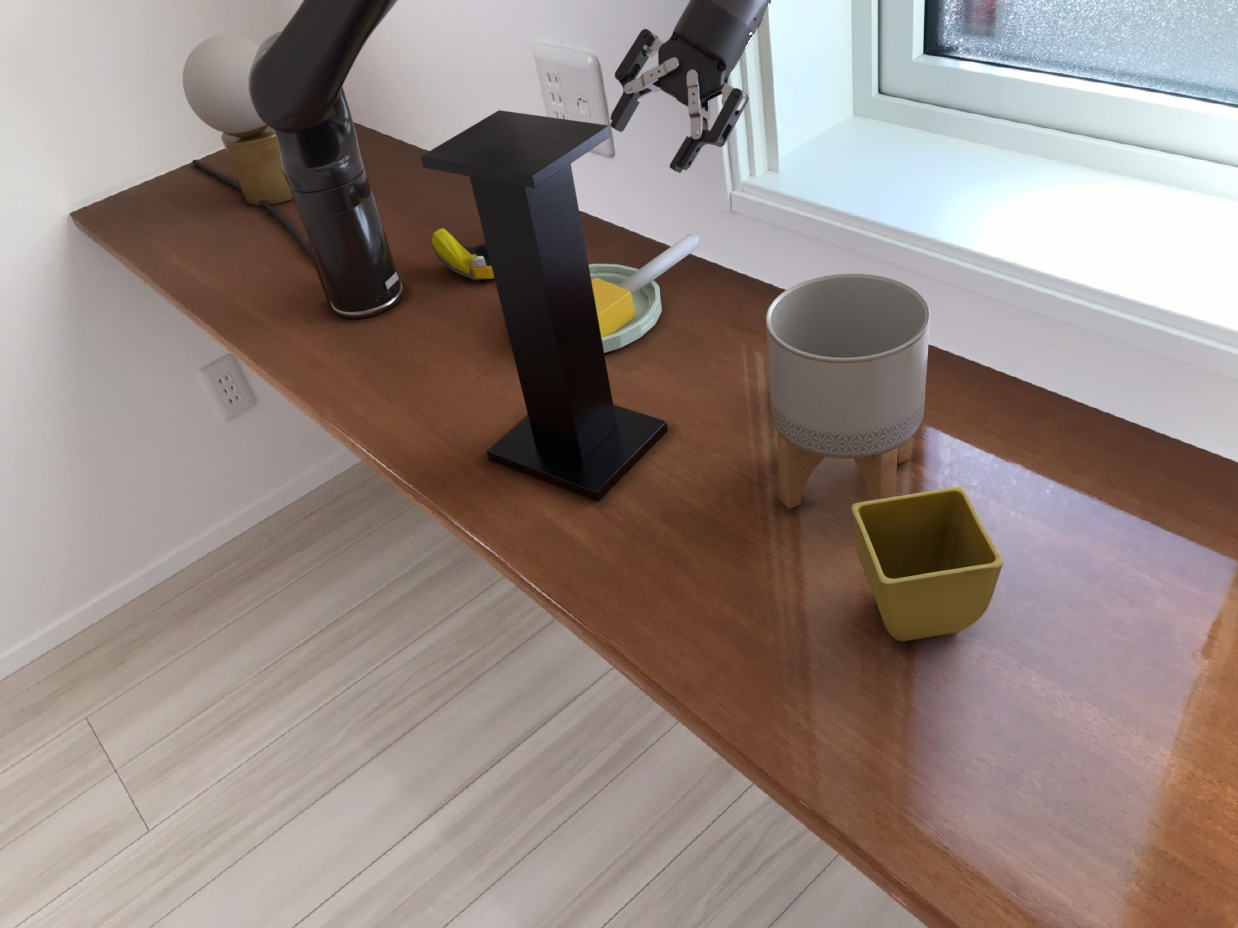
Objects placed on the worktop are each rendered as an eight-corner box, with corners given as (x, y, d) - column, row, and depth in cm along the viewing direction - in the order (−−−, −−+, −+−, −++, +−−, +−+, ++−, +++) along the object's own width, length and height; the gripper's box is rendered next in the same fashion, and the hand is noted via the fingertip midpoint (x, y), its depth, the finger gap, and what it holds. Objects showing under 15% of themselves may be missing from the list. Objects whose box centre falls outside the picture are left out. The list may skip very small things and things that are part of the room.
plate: (480, 340, 121) (476, 324, 119) (572, 268, 131) (569, 253, 130) (602, 376, 111) (599, 360, 110) (691, 296, 122) (689, 280, 120)
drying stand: (488, 460, 103) (402, 159, 83) (560, 396, 110) (497, 104, 89) (598, 502, 95) (533, 183, 75) (668, 430, 102) (626, 121, 82)
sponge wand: (565, 327, 119) (558, 302, 117) (681, 244, 128) (676, 220, 125) (600, 343, 116) (593, 318, 113) (716, 257, 124) (712, 232, 122)
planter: (749, 465, 96) (737, 304, 85) (865, 419, 99) (868, 258, 88) (823, 548, 87) (820, 378, 76) (949, 494, 90) (965, 323, 79)
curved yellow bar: (434, 267, 137) (463, 295, 130) (424, 230, 134) (453, 256, 126) (532, 229, 142) (565, 254, 135) (525, 192, 138) (558, 216, 131)
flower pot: (849, 582, 83) (849, 501, 78) (954, 565, 83) (962, 483, 78) (879, 665, 77) (882, 584, 71) (994, 647, 76) (1006, 564, 71)
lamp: (307, 211, 157) (247, 46, 142) (220, 222, 159) (151, 60, 143) (329, 170, 169) (277, 13, 153) (248, 180, 170) (188, 26, 155)
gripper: (660, -35, 103) (581, 109, 109) (770, 33, 99) (682, 179, 105) (687, -12, 110) (611, 123, 116) (791, 53, 106) (707, 189, 112)
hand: (645, 149), depth 110 cm, fingers open, 8 cm apart
